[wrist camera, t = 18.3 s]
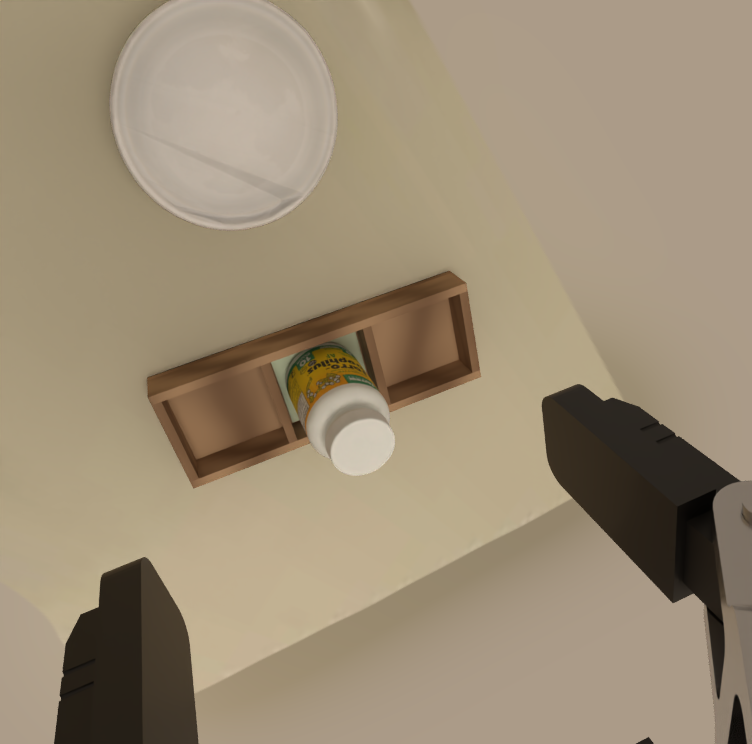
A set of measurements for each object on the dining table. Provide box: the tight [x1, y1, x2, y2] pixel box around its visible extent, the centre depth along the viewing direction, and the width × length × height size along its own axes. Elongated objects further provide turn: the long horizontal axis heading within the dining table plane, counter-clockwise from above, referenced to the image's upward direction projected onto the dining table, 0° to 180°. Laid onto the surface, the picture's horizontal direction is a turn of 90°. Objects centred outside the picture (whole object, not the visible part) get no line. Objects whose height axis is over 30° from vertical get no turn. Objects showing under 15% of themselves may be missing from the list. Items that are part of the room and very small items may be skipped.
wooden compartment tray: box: [147, 271, 481, 488], centre depth 44 cm, size 22×8×3 cm, turn 104°
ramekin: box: [109, 0, 338, 231], centre depth 34 cm, size 11×11×5 cm
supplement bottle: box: [286, 343, 395, 476], centre depth 41 cm, size 5×5×10 cm
